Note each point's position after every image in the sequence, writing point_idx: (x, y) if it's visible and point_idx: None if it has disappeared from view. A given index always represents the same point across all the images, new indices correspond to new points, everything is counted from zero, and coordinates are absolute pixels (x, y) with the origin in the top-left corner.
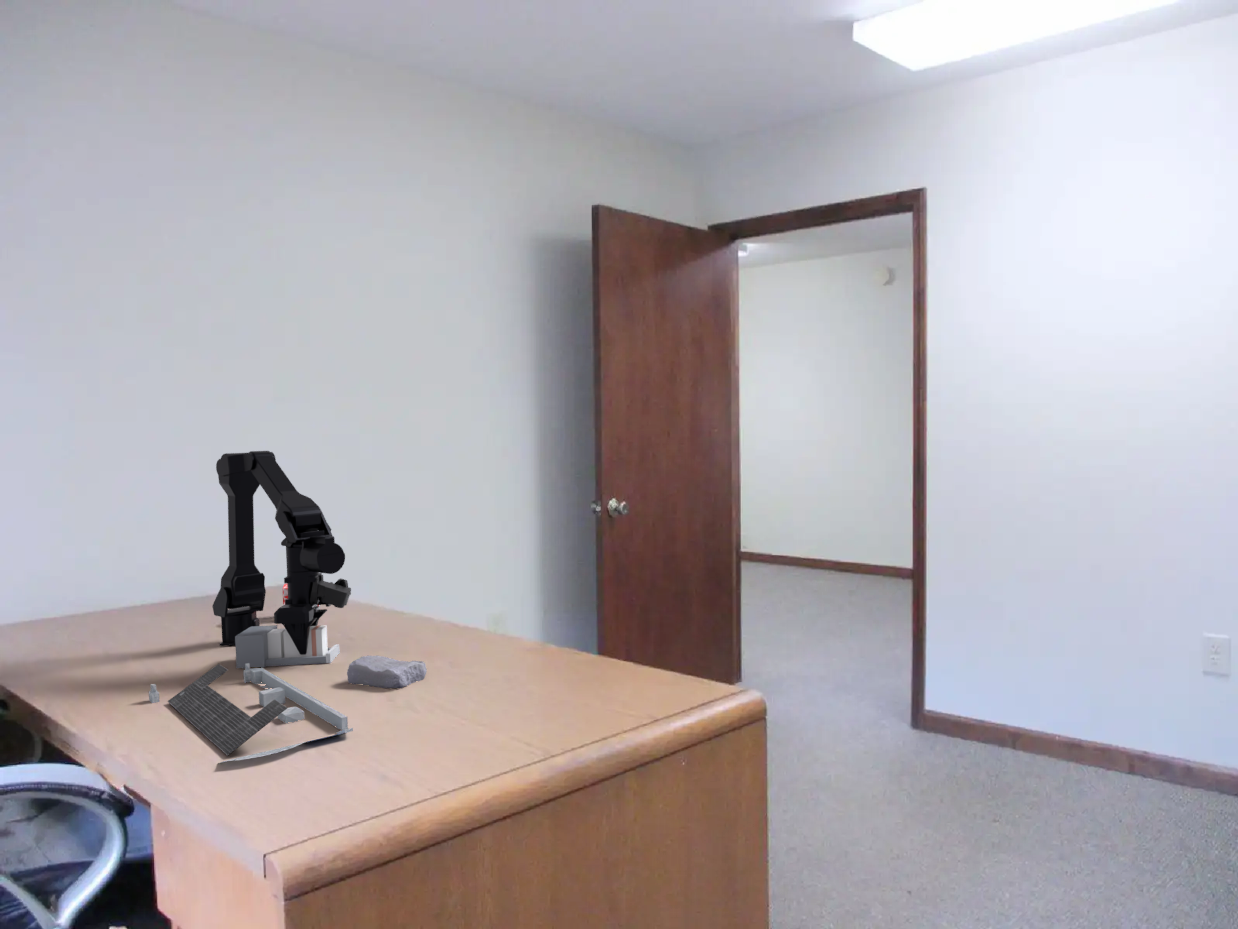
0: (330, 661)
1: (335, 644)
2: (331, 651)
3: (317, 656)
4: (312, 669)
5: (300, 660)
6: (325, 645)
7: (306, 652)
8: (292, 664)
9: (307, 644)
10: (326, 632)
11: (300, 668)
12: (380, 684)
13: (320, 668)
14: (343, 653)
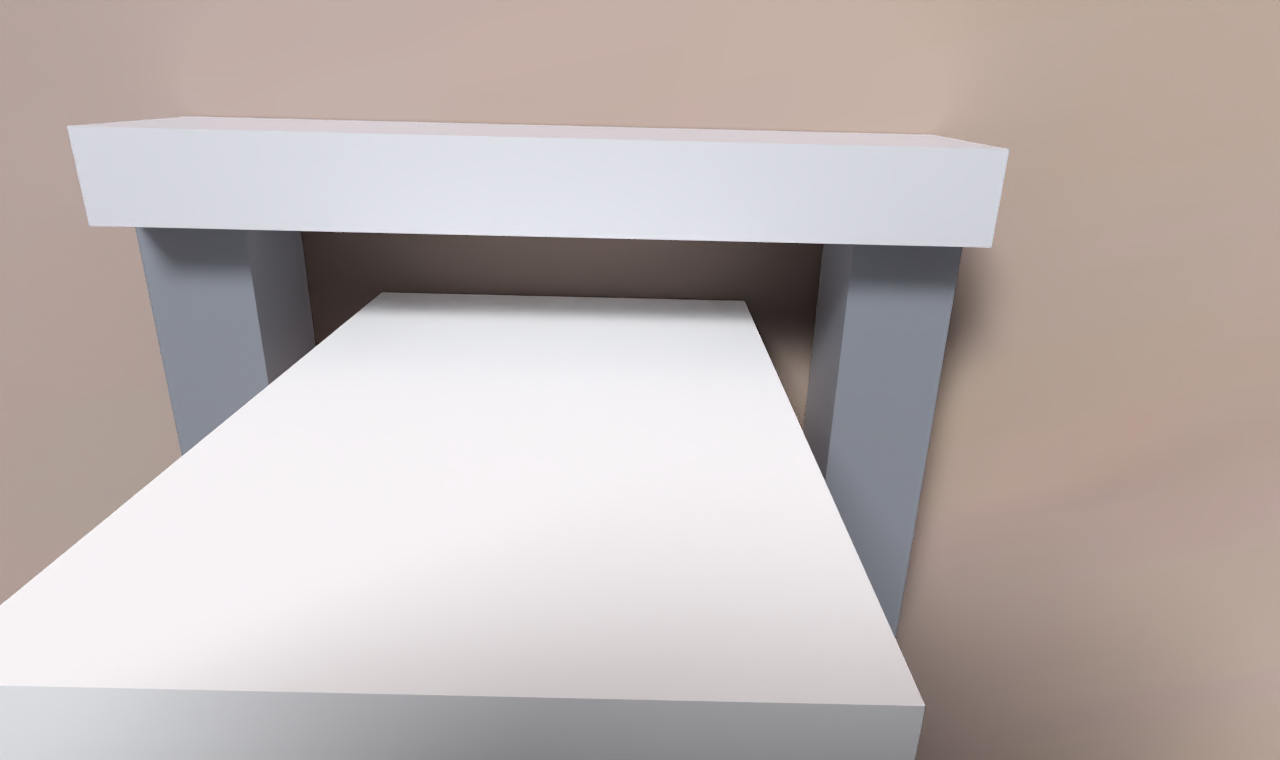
0: (934, 137)
1: (95, 214)
2: (819, 156)
3: (874, 402)
4: (1262, 352)
5: None
6: (484, 373)
7: None
8: None
9: None
10: (176, 513)
11: (1100, 537)
12: None
13: (1259, 234)
14: (172, 39)
